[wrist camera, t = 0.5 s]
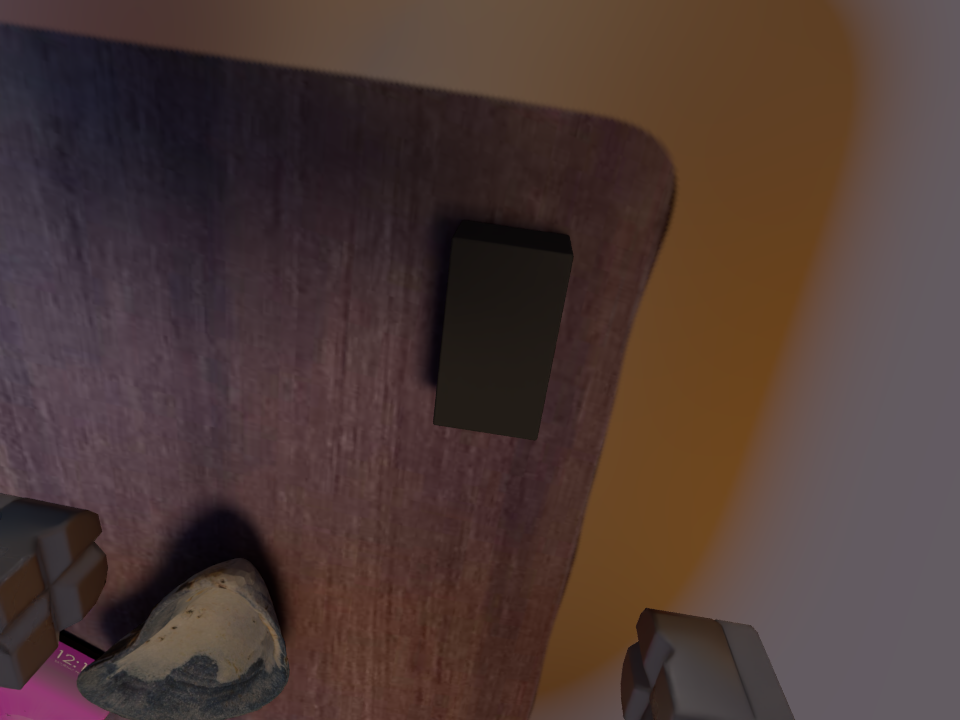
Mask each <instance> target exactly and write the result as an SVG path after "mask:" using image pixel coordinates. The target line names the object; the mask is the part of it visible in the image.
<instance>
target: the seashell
mask: <svg viewBox="0 0 960 720" xmlns="http://www.w3.org/2000/svg"><path fill="white" fill-rule="evenodd" d="M288 677H289V663H288V658H287V654H286V647H285V641H284V639H283V637H282V634H281V630H280V626H279V623H278V620H277V616H276V613H275V610H274V607H273V603H272V601H271V598H270V595H269V592H268V589H267V587H266V585H265V582H264V580H263V579H262V577H261V575H260V574H259V572H258V571H257V569H256V568H255V567H254V566H253V565H252V564H251V563H250V562H249V561H248V560H246V559H242V558H236V559H232V560H228V561H225V562H222V563H219V564H216V565H213V566H211V567H209V568H207V569H205V570H203V571H201V572H199V573H197V574H195V575H193V576H192V577H190V578H189V579H188V580H186V581H185V582H183V583H182V584H181V585H179V586H178V587H176V588H175V589H174V590H173V591H172V592H170V593H169V594H168V595H166V596H165V597H164V598H163V599H162V601H161V602H160V603H159V604H157V605H156V606H154V607H153V609H152V611H151V613H150V615H149V617H148V619H147V620H146V621H145V622H143V623H142V624H141V625H140V626H138V627H137V628H136V629H134V630H133V631H131V632H130V633H128V634H127V635H126V636H124V637H123V638H122V639H121V640H119V641H118V642H117V643H116V644H114V645H113V646H112V647H111V648H110V649H109V650H108V651H106V652H105V653H104V654H103V655H102V656H101V657H99V658H98V659H96V660H95V661H94V662H92V663H91V664H89V665H88V666H87V667H85V668H84V669H83V670H82V671H81V672H80V674H79V675H78V678H77V681H76V683H77V688H78V690H79V692H80V693H81V695H82V696H83V697H84V698H86V699H87V700H88V701H89V702H91V703H92V704H95V705H97V706H98V707H100V708H102V709H104V710H106V711H109V712H112V713H115V714H117V715H119V716H121V717H124V718H128V719H132V720H224V719H228V718H233V717H237V716H241V715H244V714H247V713H250V712H254V711H257V710H259V709H261V708H262V706H264V705H266V704H268V703H270V702H271V701H272V700H273V699H275V698H276V697H277V696H278V695H279V694H280V693H281V691H282V690H283V689H284V687H285V685H286V684H287V682H288Z"/></svg>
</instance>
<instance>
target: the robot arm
mask: <svg viewBox="0 0 960 720" xmlns="http://www.w3.org/2000/svg"><path fill="white" fill-rule="evenodd" d="M101 533H102V529H101V525H100V520H99V516H98V514H96V513H94V512H91V511H89V510H84V509H80V508H75V507H70V506H65V505H60V504H55V503H50V502H45V501H40V500H35V499H30V498H26V497H25V498H22V497H17V496H12V495H7V494H3V493H0V687H3V688H9V689H16V690H21V689H22V688H23V686H24V685H25V684H26V683H27V682H28V681H29V680H30V678H31V677H32V676H33V675H34V674H35V673H36V672H37V671H38V669H39V668H40V667H41V666H42V665H43V664H44V663H45V661H46V660H47V659H48V658H49V657H50V656H51V655H52V654H53V652H54V651H55V650H56V649H57V648H58V644H59V632H60V631H61V630H63V629H65V628H67V627H69V626H71V625H73V624H75V623H77V622H79V621H81V620H82V619H83V618H84V617H85V616H86V614H87V613H88V612H89V611H90V610H91V608H92V607H93V606H94V605H95V604H96V602H97V600H98V598H99V596H100V594H101V592H102V590H103V587H104V585H105V583H106V577H107V571H108V565H107V558H106V554H105V553H104V552H103V551H102V550H101V549H100V548H99V546H98V545H97V544H96V543H95V542H94V541H95V540H96V538H97V537H98V536H99V535H100V534H101ZM636 629H637V634H638V640H639V641H638V642H637V643H635V644H633V645H632V646H630V647H629V648H628V650H627V653H626V656H625V659H624V663H623V669H622V678H621V702H622V710H623V717H624V719H625V720H795V719H794V716H793V714H792V712H791V709H790V707H789V705H788V702H787V700H786V698H785V695H784V693H783V691H782V688H781V686H780V684H779V681H778V679H777V677H776V674H775V672H774V670H773V668H772V665H771V663H770V660H769V658H768V656H767V654H766V651H765V649H764V646H763V644H762V642H761V640H760V637H759V635H758V632H757V631H756V630H755V629H754V628H753V627H752V626H751V625H746V624H740V623H733V622H728V621H721V620H713V619H710V618H704V617H697V616H692V615H686V614H680V613H673V612H667V611H661V610H655V609H649V608H645V610H644V611H643V612H642V613H641V615H640V618H639V620H638V622H637V625H636Z"/></svg>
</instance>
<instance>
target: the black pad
mask: <svg viewBox="0 0 960 720" xmlns="http://www.w3.org/2000/svg"><path fill="white" fill-rule="evenodd" d="M573 257H574V256H573V251H572V246H571V241H570V237H569V236H568V235H563V234H556V233H549V232H542V231H535V230H528V229H521V228H514V227H508V226H501V225H494V224H487V223H480V222H473V221H466V220H463V221H462V222H461V224H460V226H459V227H458V229H457V231H456V233H455V234H454V236H453V238H452V243H451V253H450V263H449V273H448V282H447V292H446V302H445V312H444V321H443V331H442V341H441V351H440V360H439V370H438V380H437V389H436V399H435V409H434V419H433V424H434V425H439V426H446V427H452V428H459V429H465V430H472V431H478V432H484V433H491V434H497V435H504V436H510V437H517V438H523V439H529V440H537V437H538V432H539V427H540V422H541V417H542V412H543V407H544V402H545V397H546V392H547V387H548V382H549V377H550V372H551V367H552V362H553V357H554V352H555V347H556V342H557V337H558V332H559V327H560V322H561V317H562V312H563V307H564V302H565V297H566V292H567V287H568V282H569V277H570V272H571V267H572V262H573Z"/></svg>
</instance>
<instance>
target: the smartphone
mask: <svg viewBox="0 0 960 720" xmlns="http://www.w3.org/2000/svg"><path fill="white" fill-rule="evenodd" d="M99 657H101V655H99V654H97V653H95V652H93V651H91V650H90V649H88V648H86V647H84V646H82V645H80V644H78V643H77V642H75V641H73V640H71V639H69V638H67V637H65V636H64V635H62V634H60V633H59V644H58V648H57V649H56V650H55V651H54V652H53V654H52V655H51V656H50V657H49V658H48V659H47V660H46V661H45V663H44V664H43V665H42V666H41V667H40V668H39V669H38V671H37V672H36V673H35V674H34V675H33V676H32V677H31V678H30V680H29V681H28V682H27V683H26V684H25V685H24V686H23V688H22V689H21V690H16V689H9V688H3V687H0V720H104V719H105V718H106V716H107V715H108V714H109V713H110V712H109V711H106V710H104V709H102V708H100V707H98V706H97V705H95V704H92V703H91V702H89V701H88V700H87V699H86V698H84V697H83V696H82V695H81V693H80V692H79V690H78V688H77V683H76V681H77V678H78V675H79V674H80V672H81V671H82V670H83V669H84V668H85V667H87V666H88V665H89V664H91V663H92V662H94V661H95V660H96V659H98V658H99Z"/></svg>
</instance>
